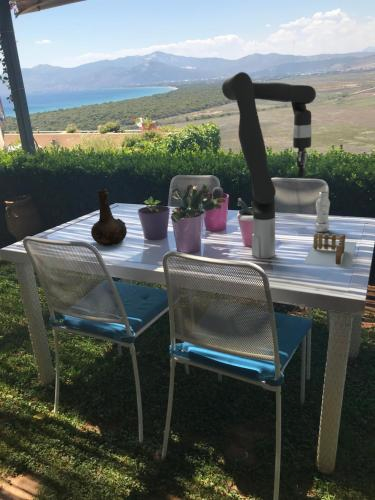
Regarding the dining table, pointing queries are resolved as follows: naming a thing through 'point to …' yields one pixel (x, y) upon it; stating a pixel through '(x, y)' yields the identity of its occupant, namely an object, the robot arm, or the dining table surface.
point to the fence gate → (325, 241)
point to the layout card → (331, 255)
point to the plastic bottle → (322, 213)
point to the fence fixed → (340, 249)
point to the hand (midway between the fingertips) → (301, 176)
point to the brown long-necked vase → (107, 224)
